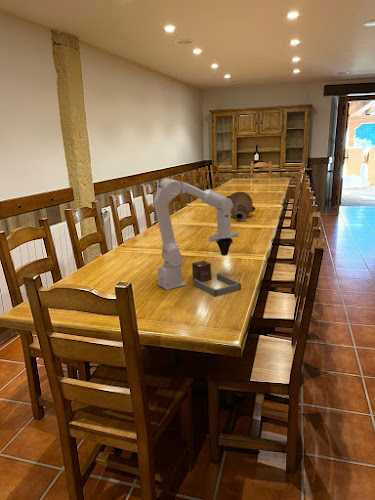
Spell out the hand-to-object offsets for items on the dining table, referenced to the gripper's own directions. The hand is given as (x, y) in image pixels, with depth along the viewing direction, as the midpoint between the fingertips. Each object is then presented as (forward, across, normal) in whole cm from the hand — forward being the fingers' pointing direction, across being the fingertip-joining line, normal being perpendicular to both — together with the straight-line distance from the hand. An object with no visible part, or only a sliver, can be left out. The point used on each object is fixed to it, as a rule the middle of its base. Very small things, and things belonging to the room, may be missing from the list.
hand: (224, 255), depth 165 cm
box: (+10, -11, +2) cm, 15 cm away
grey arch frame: (+9, -11, -9) cm, 17 cm away
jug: (+10, +84, +93) cm, 125 cm away
